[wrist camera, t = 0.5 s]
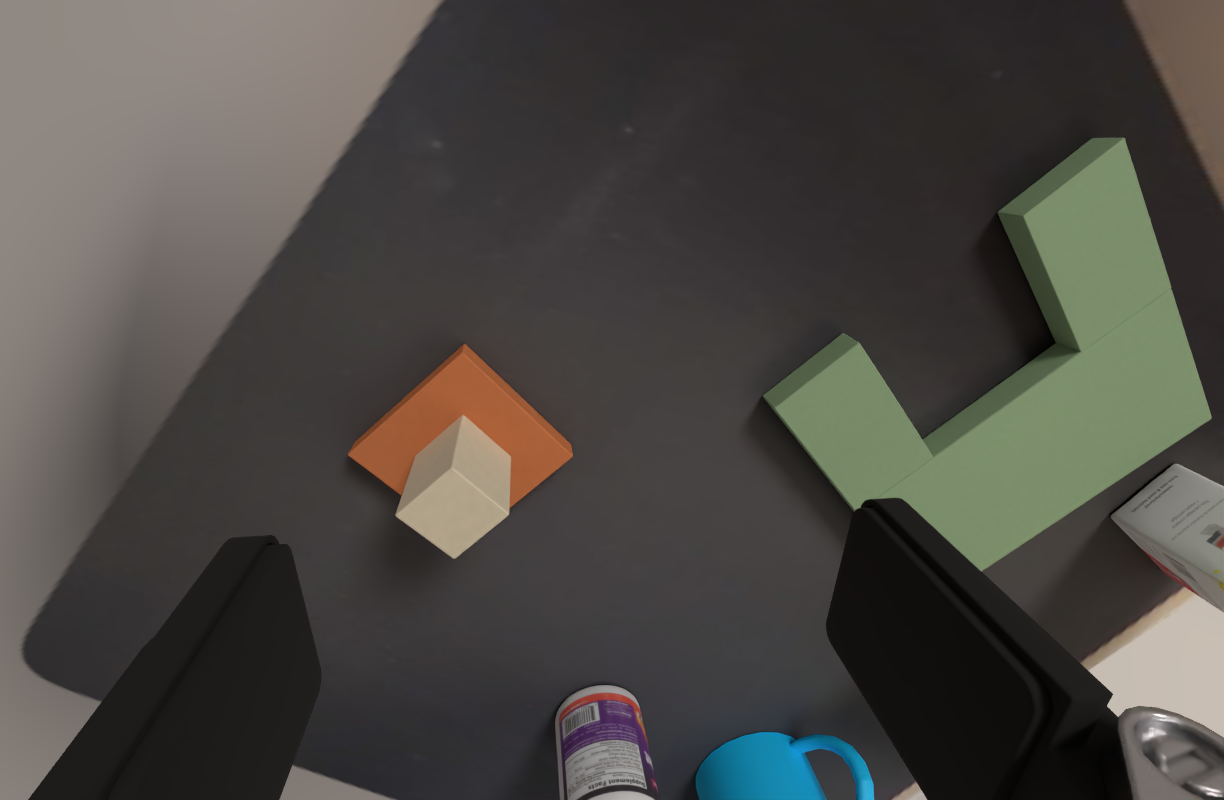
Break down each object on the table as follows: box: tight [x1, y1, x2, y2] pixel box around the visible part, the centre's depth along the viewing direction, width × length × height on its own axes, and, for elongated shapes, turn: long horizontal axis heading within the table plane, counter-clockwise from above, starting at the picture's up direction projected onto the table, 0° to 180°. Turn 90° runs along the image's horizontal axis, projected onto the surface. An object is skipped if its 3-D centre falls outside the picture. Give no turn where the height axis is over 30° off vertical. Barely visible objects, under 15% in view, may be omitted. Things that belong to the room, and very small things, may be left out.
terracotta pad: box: [348, 344, 573, 559], centre depth 24 cm, size 7×7×6 cm
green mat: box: [763, 138, 1212, 571], centre depth 29 cm, size 18×18×2 cm
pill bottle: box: [555, 685, 660, 800], centre depth 31 cm, size 5×5×10 cm
